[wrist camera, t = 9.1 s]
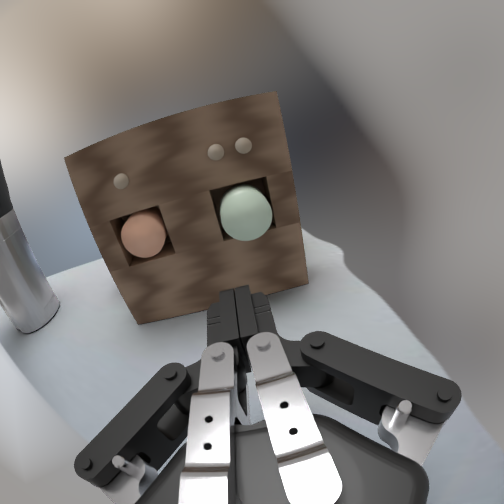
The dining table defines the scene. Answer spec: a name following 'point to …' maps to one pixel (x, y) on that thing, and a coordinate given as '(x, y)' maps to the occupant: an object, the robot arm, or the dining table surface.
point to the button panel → (193, 205)
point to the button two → (245, 212)
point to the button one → (144, 232)
